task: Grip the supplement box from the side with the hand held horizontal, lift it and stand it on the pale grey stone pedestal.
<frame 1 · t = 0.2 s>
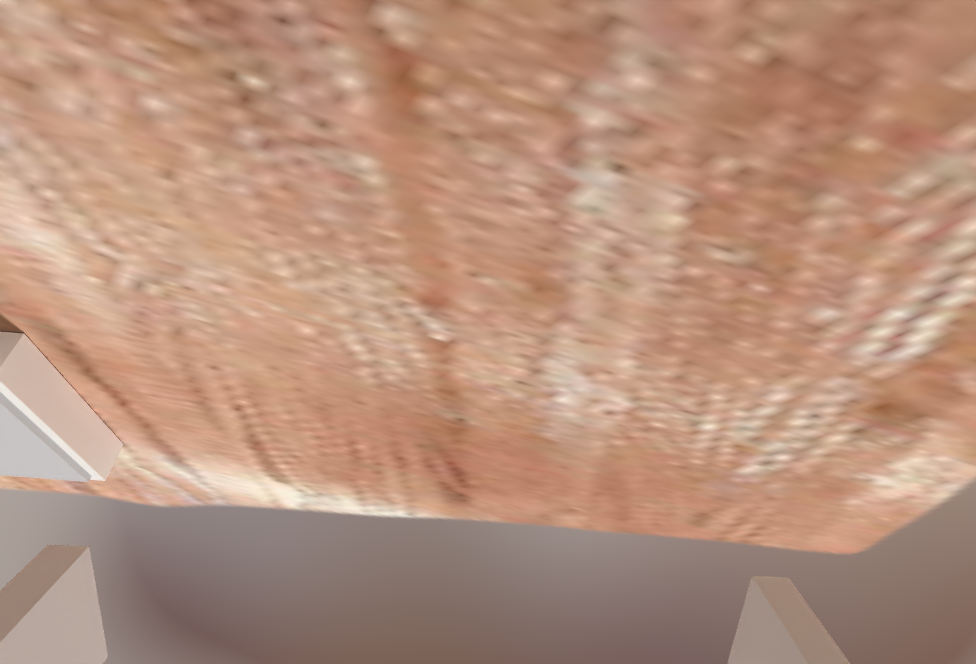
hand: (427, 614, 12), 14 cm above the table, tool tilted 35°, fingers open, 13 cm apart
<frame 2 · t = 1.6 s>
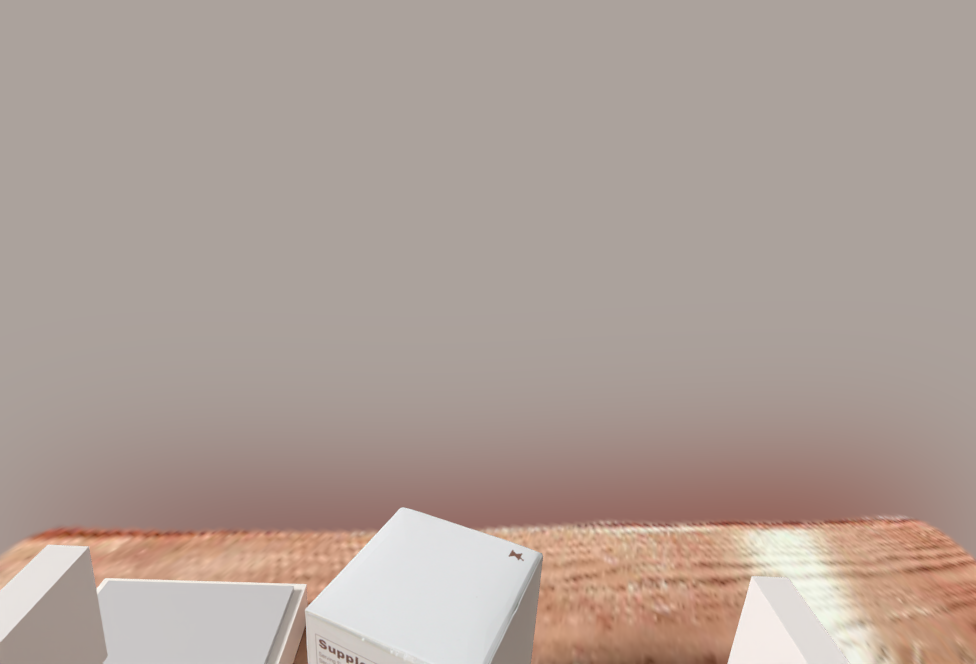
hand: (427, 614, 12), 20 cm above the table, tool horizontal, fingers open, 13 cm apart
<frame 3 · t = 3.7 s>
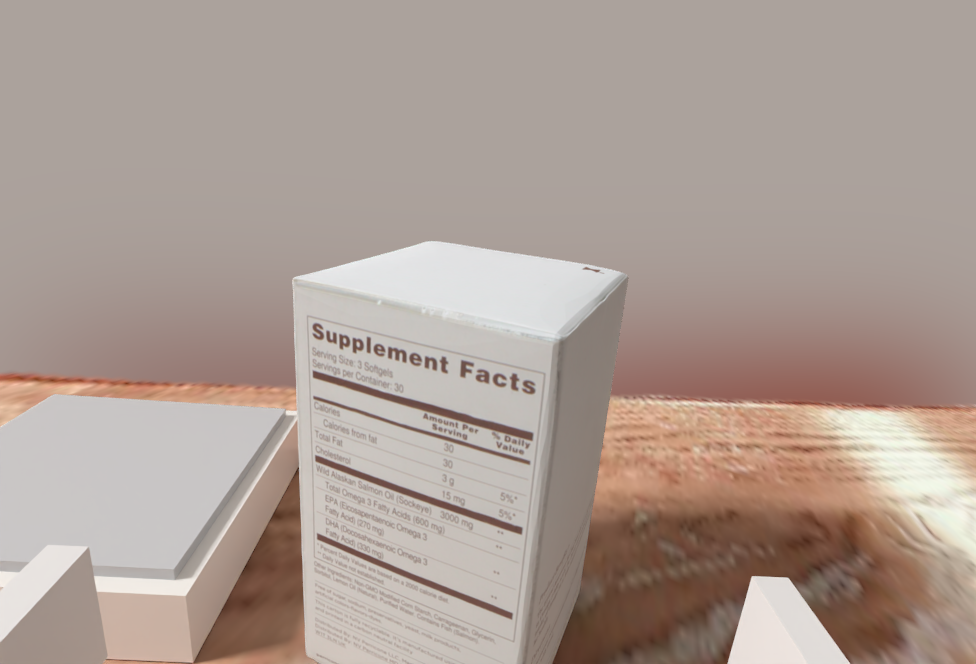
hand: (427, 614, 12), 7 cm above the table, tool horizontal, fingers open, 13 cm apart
pedestal: (110, 527, 23), on the table
supplement box: (453, 628, 20), on the table
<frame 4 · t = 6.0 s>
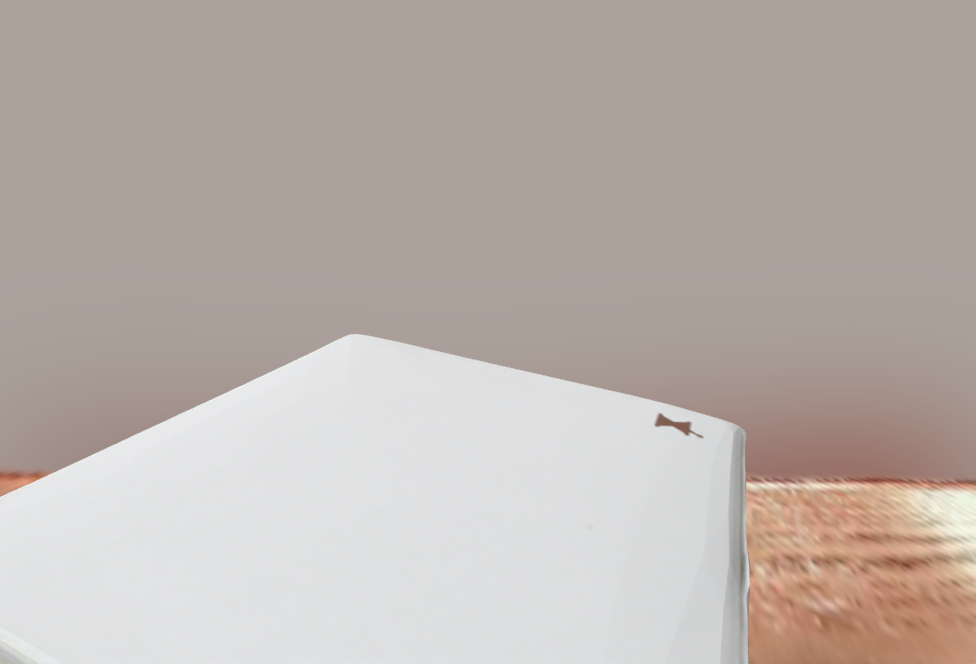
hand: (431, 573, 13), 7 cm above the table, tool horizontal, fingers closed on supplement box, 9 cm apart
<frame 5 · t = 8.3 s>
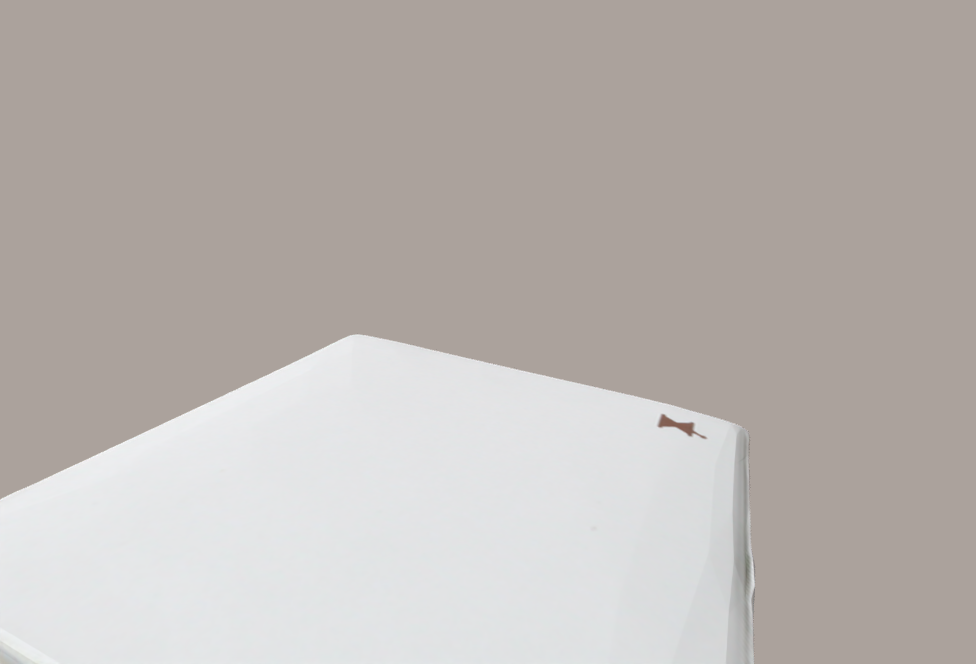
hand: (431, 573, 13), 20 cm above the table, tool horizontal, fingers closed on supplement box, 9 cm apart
when the fingers open (11 cm above the table, at t = 10.9 s): supplement box drops 1 cm, resting on pedestal.
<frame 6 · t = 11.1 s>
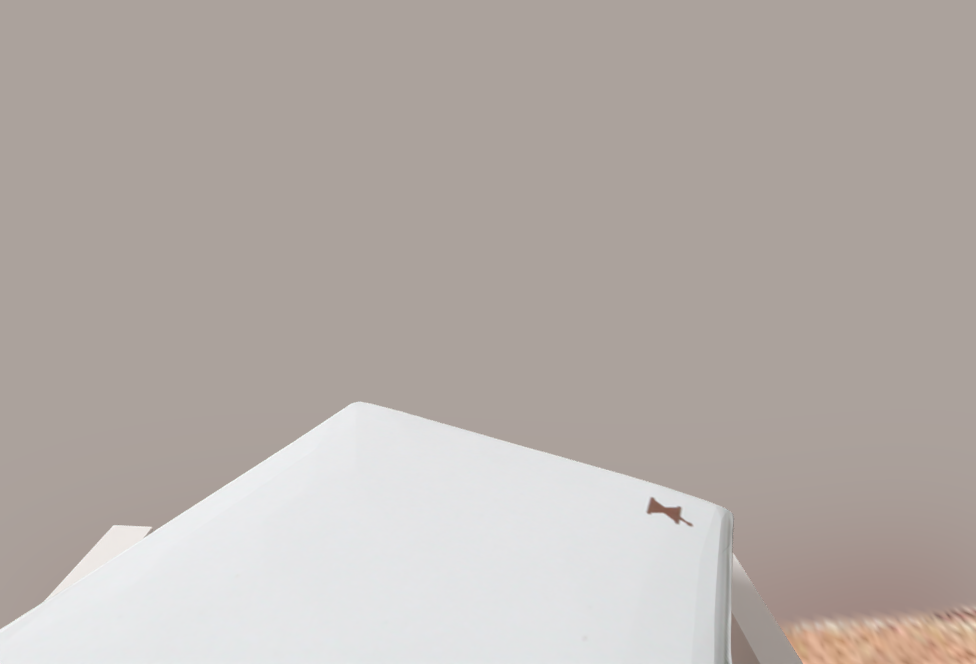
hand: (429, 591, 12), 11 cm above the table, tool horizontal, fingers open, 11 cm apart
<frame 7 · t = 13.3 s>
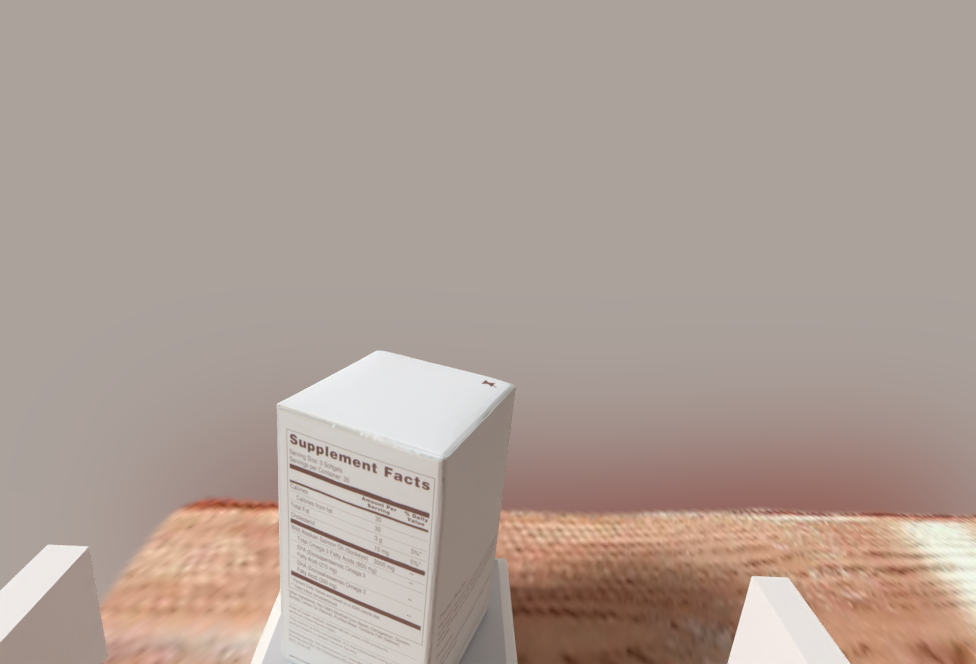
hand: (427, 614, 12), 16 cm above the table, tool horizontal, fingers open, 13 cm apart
supplement box: (391, 636, 27), point 3 cm above the table, touching pedestal
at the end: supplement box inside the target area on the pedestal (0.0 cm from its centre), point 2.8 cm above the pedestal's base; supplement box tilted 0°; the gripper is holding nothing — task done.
